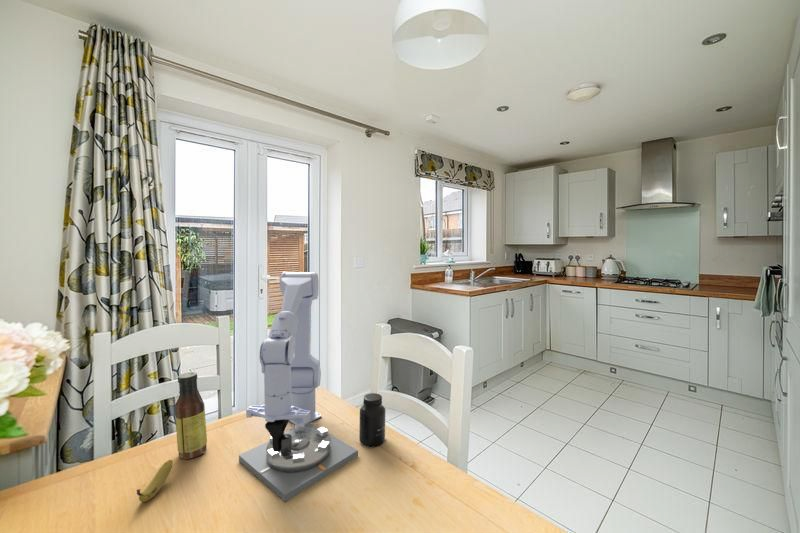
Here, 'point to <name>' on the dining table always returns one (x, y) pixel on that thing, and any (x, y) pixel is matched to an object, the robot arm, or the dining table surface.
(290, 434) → the grey turntable disc
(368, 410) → the supplement bottle
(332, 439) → the boss plate
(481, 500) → the dining table surface
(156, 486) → the banana
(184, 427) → the sauce bottle
